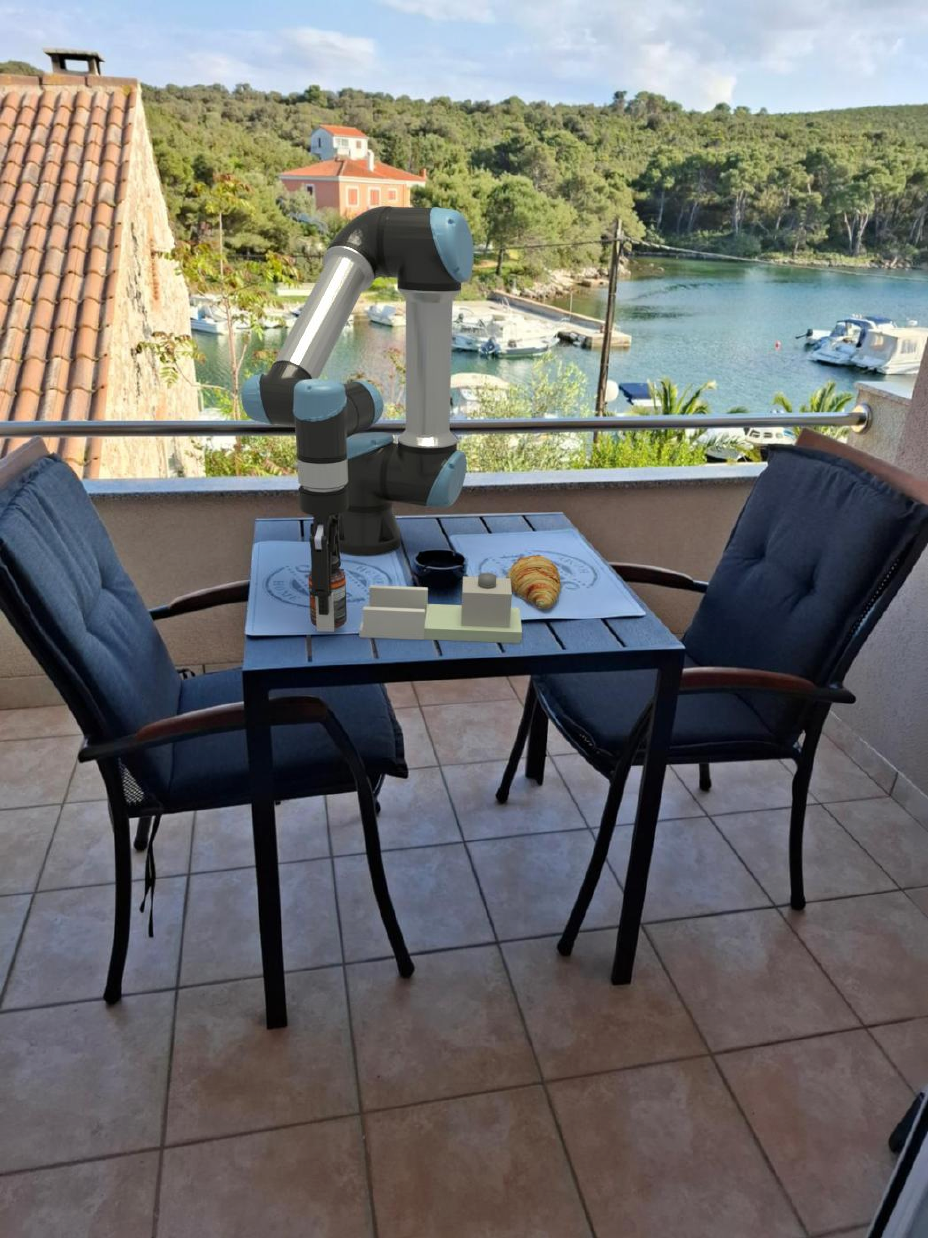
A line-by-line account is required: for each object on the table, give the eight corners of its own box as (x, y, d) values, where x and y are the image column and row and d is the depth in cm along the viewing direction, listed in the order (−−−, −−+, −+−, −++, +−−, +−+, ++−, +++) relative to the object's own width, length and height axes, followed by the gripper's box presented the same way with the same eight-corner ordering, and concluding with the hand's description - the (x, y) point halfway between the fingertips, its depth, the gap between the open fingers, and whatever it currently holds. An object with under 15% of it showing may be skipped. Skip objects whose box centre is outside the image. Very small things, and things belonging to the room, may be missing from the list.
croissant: (559, 631, 150) (584, 594, 148) (513, 608, 147) (537, 571, 144) (532, 584, 169) (553, 551, 166) (490, 563, 165) (511, 529, 163)
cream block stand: (366, 611, 146) (366, 559, 142) (518, 617, 146) (522, 566, 142) (359, 637, 136) (358, 582, 132) (521, 643, 136) (525, 589, 132)
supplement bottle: (304, 620, 138) (300, 556, 133) (336, 611, 141) (333, 549, 136) (321, 633, 133) (318, 568, 128) (353, 624, 137) (351, 560, 132)
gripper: (309, 467, 136) (316, 596, 146) (285, 503, 118) (294, 647, 129) (355, 468, 136) (358, 598, 146) (338, 505, 118) (343, 648, 129)
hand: (328, 620), depth 137 cm, fingers closed on supplement bottle, 6 cm apart
